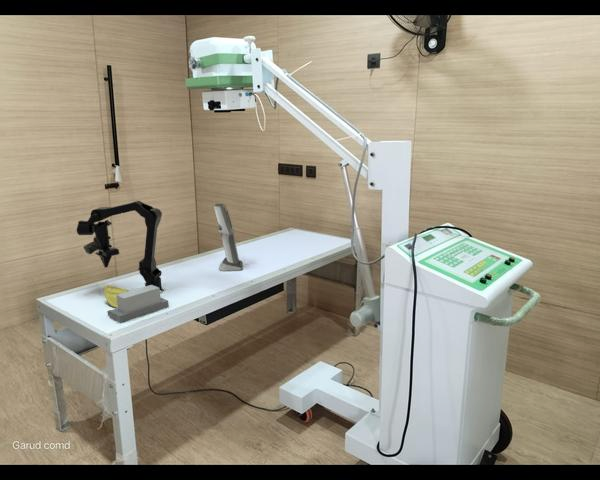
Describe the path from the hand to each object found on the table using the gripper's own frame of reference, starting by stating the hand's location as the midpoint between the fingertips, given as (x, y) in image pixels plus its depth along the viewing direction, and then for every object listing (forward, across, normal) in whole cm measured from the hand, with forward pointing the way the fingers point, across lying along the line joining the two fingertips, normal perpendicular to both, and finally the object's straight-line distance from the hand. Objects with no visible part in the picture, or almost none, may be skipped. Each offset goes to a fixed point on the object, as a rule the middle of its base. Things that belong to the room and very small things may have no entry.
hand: (106, 267), depth 224 cm
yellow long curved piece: (+12, +21, -2) cm, 24 cm away
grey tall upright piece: (+12, +17, +61) cm, 64 cm away
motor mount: (+12, +34, -4) cm, 37 cm away
